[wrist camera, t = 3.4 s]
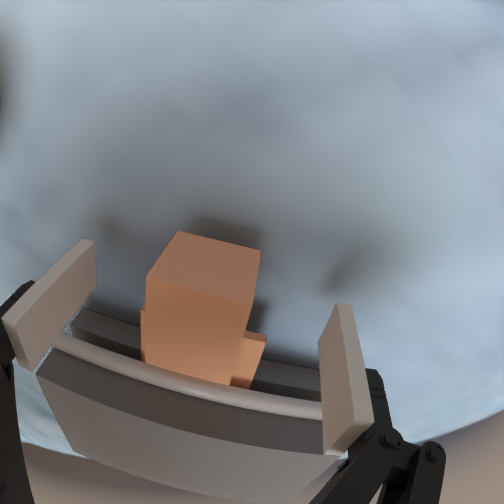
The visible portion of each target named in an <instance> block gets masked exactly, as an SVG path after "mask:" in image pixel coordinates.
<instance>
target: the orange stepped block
mask: <svg viewBox="0 0 504 504" xmlns="http://www.w3.org/2000/svg"><path fill="white" fill-rule="evenodd" d="M260 257H261V251H260V250H256V249H252V248H248V247H244V246H240V245H236V244H232V243H228V242H223V241H219V240H215V239H211V238H207V237H203V236H199V235H195V234H191V233H186V232H182V231H177V232H176V234H175V235H174V237H173V238H172V239H171V241H170V242H169V244H168V245H167V246H166V248H165V249H164V251H163V252H162V254H161V255H160V257H159V258H158V259H157V261H156V262H155V264H154V265H153V267H152V268H151V270H150V271H149V273H148V274H147V275H146V292H145V304H144V306H143V307H142V309H141V360H142V362H145V363H147V364H150V365H153V366H157V367H160V368H163V369H167V370H170V371H174V372H177V373H181V374H184V375H188V376H192V377H195V378H199V379H203V380H207V381H211V382H215V383H219V384H224V385H228V386H229V385H230V386H234V387H239V388H244V389H248V390H249V388H250V385H251V382H252V380H253V377H254V374H255V372H256V369H257V366H258V364H259V361H260V358H261V356H262V353H263V350H264V347H265V345H266V339H267V335H264V334H259V333H255V332H250V331H246V330H245V329H246V326H247V322H248V319H249V316H250V312H251V309H252V305H253V300H254V294H255V288H256V282H257V275H258V269H259V263H260Z"/></svg>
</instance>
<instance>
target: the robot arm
mask: <svg viewBox="0 0 504 504" xmlns="http://www.w3.org/2000/svg"><path fill="white" fill-rule="evenodd" d="M96 287H97V276H96V258H95V242H94V241H90V240H87V239H81V240H80V241H79V242H78V243H77V244H76V245H75V246H74V247H72V248H71V249H70V250H69V251H68V252H67V253H66V254H65V255H64V256H63V257H62V258H60V259H59V260H58V261H57V262H56V263H55V264H54V265H53V266H52V267H51V268H50V269H49V270H48V271H47V272H46V273H45V274H44V275H43V276H42V277H40V278H39V279H38V280H37V281H36V282H34V281H32V280H31V281H29V282H27V283H25V284H23V285H21V286H20V287H19V288H18V289H17V290H16V291H15V293H13V294H12V295H11V296H10V299H9V298H8V299H7V300H6V302H5V303H4V304H3V305H2V306H1V307H0V504H35V503H34V499H33V496H32V492H31V489H30V484H29V480H28V476H27V471H26V467H25V462H24V457H23V451H22V446H21V440H20V433H19V426H18V418H17V410H16V400H15V387H14V368H13V363H12V360H13V359H14V358H15V356H16V358H17V361H18V363H19V365H20V366H22V367H24V368H26V369H28V370H29V371H31V372H33V370H34V369H35V367H36V366H37V364H38V363H39V361H40V360H41V359H42V357H43V356H44V354H45V353H46V352H47V350H48V349H49V347H50V346H51V345H52V343H53V342H54V341H55V339H56V338H57V337H58V335H59V334H60V332H61V331H62V330H63V328H64V327H65V326H66V325H67V323H68V322H69V321H70V319H71V318H72V317H73V315H74V314H75V313H76V312H77V310H78V309H79V308H80V306H81V305H82V304H83V303H84V301H85V300H86V299H87V298H88V296H89V295H90V294H91V293H92V291H93V290H94V289H95V288H96ZM318 353H319V368H320V384H321V402H322V424H323V454H324V455H338V456H341V455H342V454H343V453H344V452H345V451H347V450H348V459H347V460H345V461H344V462H343V463H342V464H341V465H340V466H339V467H338V470H337V472H336V473H335V474H334V475H333V476H332V478H331V479H330V480H329V481H328V482H327V484H326V485H325V486H324V487H323V488H322V489H321V490H320V492H319V493H318V494H317V495H316V496H315V497H314V499H313V500H312V501H311V502H310V503H309V504H369V503H370V501H371V499H372V498H373V496H374V495H375V494H376V492H377V490H378V489H379V488H380V486H381V484H383V486H382V489H381V492H380V495H379V498H378V501H377V503H376V504H438V503H439V498H440V493H441V488H442V482H443V476H444V470H445V462H446V454H445V451H444V449H443V448H442V446H441V445H440V444H438V443H436V442H433V441H428V442H425V443H424V444H423V445H422V446H418V445H415V444H412V443H409V442H406V441H404V440H403V438H402V436H401V434H400V433H399V432H398V431H397V430H396V429H394V428H393V426H392V422H391V417H390V412H389V407H388V402H387V399H386V393H385V391H384V384H383V380H382V378H381V376H380V375H379V373H378V372H377V370H375V369H368V368H365V366H364V361H363V356H362V351H361V347H360V342H359V337H358V333H357V328H356V324H355V319H354V315H353V311H352V307H351V305H347V304H343V303H338V302H337V303H336V305H335V307H334V309H333V311H332V314H331V316H330V318H329V320H328V322H327V324H326V326H325V328H324V330H323V332H322V335H321V337H320V339H319V341H318Z"/></svg>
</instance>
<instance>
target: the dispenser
mask: <svg viewBox="0 0 504 504" xmlns="http://www.w3.org/2000/svg"><path fill="white" fill-rule="evenodd" d="M71 330H72V335H73V337H72V336H70V335H68V334H65V333H63V332H60V334H59V335H58V337H57V338H56V339H55V341H54V342H53V343H52V347H54V348H53V349H52V351H51V352H50V353H49V355H48V356H47V358H46V359H45V361H44V362H43V363H42V365H41V366H40V368H39V369H38V371H37V372H36V377H37V379H38V381H39V384H40V386H41V388H42V391H43V393H44V395H45V397H46V399H47V401H48V404H49V406H50V408H51V410H52V412H53V414H54V416H55V418H56V420H57V422H58V424H59V426H60V427H61V429H62V431H63V433H64V435H65V437H66V438H67V440H68V442H69V444H70V446H71V447H72V449H73V451H75V452H77V453H79V454H82V455H84V456H86V457H88V458H91V459H93V460H95V461H98V462H100V463H103V464H105V465H108V466H111V467H113V468H116V469H118V470H121V471H124V472H127V473H130V474H132V475H135V476H139V477H141V478H144V479H148V480H151V481H154V482H157V483H161V484H164V485H168V486H172V487H176V488H179V489H183V490H187V491H191V492H195V493H200V494H204V495H210V496H214V497H219V498H225V499H230V500H236V501H243V502H249V503H257V504H286V503H287V502H288V501H290V500H291V499H292V498H293V497H294V496H296V495H297V494H298V493H299V492H301V491H302V490H303V489H304V488H306V487H307V486H308V485H309V484H310V483H312V481H314V480H315V479H316V478H317V477H318V476H320V475H321V474H322V473H323V472H324V471H325V470H326V469H327V468H329V467H330V466H331V465H332V464H333V463H334V462H335V461H336V460H337V459H338V458H339V457H340V456H338V455H324V454H323V424H322V402H321V384H320V370H318V369H312V368H306V367H301V366H296V365H290V364H285V363H280V362H275V361H270V360H265V359H261V358H260V361H259V364H258V366H257V369H256V372H255V374H254V377H253V380H252V382H251V385H250V388H249V390H248V389H244V388H239V387H234V386H230V385H229V386H228V385H224V384H219V383H215V382H211V381H207V380H203V379H199V378H195V377H192V376H188V375H184V374H181V373H177V372H174V371H170V370H167V369H163V368H160V367H157V366H153V365H150V364H147V363H145V362H142V360H141V327H138V326H135V325H132V324H129V323H126V322H123V321H119V320H116V319H113V318H110V317H107V316H105V315H102V314H99V313H96V312H93V311H90V310H87V309H85V308H83V309H82V310H81V311H80V313H79V314H78V315H77V317H76V318H75V319H74V321H73V322H72V323H71Z"/></svg>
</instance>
